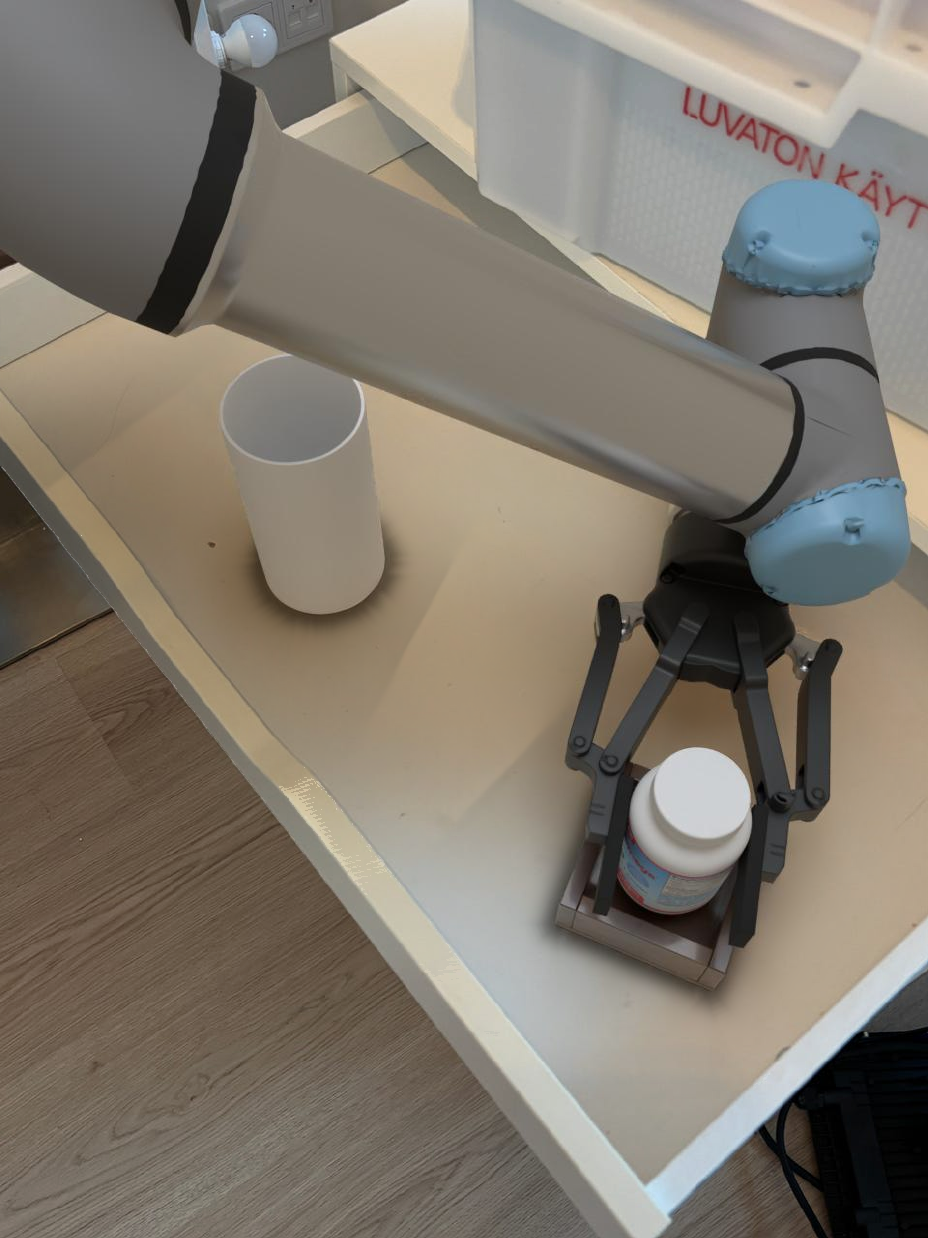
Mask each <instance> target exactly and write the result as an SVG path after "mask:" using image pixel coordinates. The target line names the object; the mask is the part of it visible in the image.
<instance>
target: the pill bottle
mask: <svg viewBox="0 0 928 1238" xmlns="http://www.w3.org/2000/svg"><path fill="white" fill-rule="evenodd" d="M751 799H752V795H751V789H750V784H749V782H748V779H747V777H746V775H745V774H744V772H743V770H742V769H741V767H739V766H738V764H737V763H735V762H734V760H732V759H731V758H729V757H728V756H727V755H725V754H723V753H722V752H719V751H717V750H715V749H712V748H708V747H698V746H697V747H696V746H695V747H687V748H683V749H679V750H678V751H675V752H673V753H672V754H670V755H669V756H668V757H666V759H664V761H663V762H661V763H659V764H658V765H656V766H654V767H652V768H651V770H650V771H649V772H648V773H647V774H646V775H645V776H644V777H643V778H642V779H641V780H640V782H639V783H638V785H637V787H636V789H635V791H634V793H633V795H632V798H631V801H630V807H629V812H628V818H627V823H626V829H625V834H624V840H623V846H622V851H621V857H620V862H619V868H618V873H617V877H618V879H619V882H620V883H621V885H622V887H623V889H624V890H625V891H626V893H627V894H628V895H629V896H630V897H631V898H632V899H633V900H634V901H635V902H636V903H638V904H639V905H641V906H642V907H644V908H646V909H648V910H650V911H653V912H656V913H661V914H682V913H687V912H690V911H693V910H696V909H698V908H700V907H702V906H703V905H705V904H706V903H707V902H708V901H709V900H710V899H712V897H713V896H714V895H715V894H716V893H717V891H718V890H719V888H720V886H721V885H722V883H723V882H724V880H725V879H726V878H727V876H728V874H729V873H730V871H731V870H732V868H733V866H734V865H735V863H736V862H737V860H738V859H739V857H740V856H741V854H742V853H743V851H744V849H745V847H746V845H747V843H748V841H749V838H750V834H751V829H752V813H751V809H752V807H751V802H752V800H751Z"/></svg>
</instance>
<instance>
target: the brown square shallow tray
mask: <svg viewBox="0 0 928 1238" xmlns="http://www.w3.org/2000/svg"><path fill="white" fill-rule="evenodd" d="M651 769H652V768H651ZM651 769H650V768H649V767H645V766H643V765H640V764H637V763H634V762H633V761H630V763H629V764H628V766H627V768H626V770H625V771H624V773H623V775H624V776H629V777H633V778H635V779H634V784H633V790H632V795H633V793H634V791H635V789H636V787H637V785H638V783H639V782H640V780H641V779H642V778H643V777H644V776H645V775H646V774H647V773H648V772H649V771H650V770H651ZM631 798H632V796H631ZM604 847H605V845H601V844H597V843H593V842H588V841H587V839H586V836H585V837H584V840H583V842H582V845H581V848H580V850H579V852H578V855H577V858H576V860H575V863H574V865H573V867H572V870H571V872H570V875H569V878H568V880H567V882H566V885H565V887H564V890H563V892H562V895H561V898H560V900H559V902H558V907H557V911H556V916H555V920H554V925H556V926H559V927H560V928H562V929H566V930H568V931H570V932H572V933H575V934H577V935H579V936H582V937H584V938H585V939H588V940H591V941H594V942H596V943H597V944H600V945H602V946H605V947H607V948H610V949H612V950H614V951H617V952H619V953H622V954H623V955H626V956H629V957H631V958H633V959H636V960H638V961H640V962H643V963H645V964H646V965H650V966H652V967H654V968H657V969H659V970H661V971H664V972H666V973H668V974H671V975H673V976H675V977H677V978H680V979H682V980H684V981H687V982H689V983H692V984H694V985H697V986H698V987H700V988H703V989H706V990H708V991H710V992H713V991H714V989H715V988H716V987H717V985H718V984H720V983H721V981H722V979H723V978H724V977H725V976H726V975H727V973H728V971H729V967H730V963H731V960H732V957H733V954H734V951H735V948H736V947H735V946H730V945H728V941H729V933H730V925H731V917H732V909H733V901H734V893H735V885H736V877H737V869H738V862H739V859H738V860H737V862H736V863H735V865H734V866H733V868H732V870H731V871H730V873H729V874H728V876H727V878H726V879H725V880H724V882H723V883H722V885H721V886H720V888H719V890H718V891H717V893H716V894H715V895H714V896H713V897H712V899H710V900H709V901H708V902H707V903H706V904H705V905H703V906H702V907H700V908H698V909H696V910H693V911H690V912H687V913H682V914H661V913H656V912H653V911H650V910H648V909H646V908H644V907H642V906H641V905H639V904H638V903H636V902H635V901H634V900H633V899H632V898H631V897H630V896H629V895H628V894H627V893H626V891H625V890H624V889H623V887H622V885H621V883H620V882H619V879H618V877H617V879H616V884H615V890H614V896H613V901H612V904H611V907H610V909H609V912H608V915H607V916H603V915H599V914H595V913H592V911H593V906H594V900H595V895H596V890H597V884H598V879H599V874H600V868H601V863H602V858H603V853H604Z"/></svg>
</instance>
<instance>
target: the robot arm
mask: <svg viewBox="0 0 928 1238" xmlns="http://www.w3.org/2000/svg"><path fill="white" fill-rule="evenodd" d="M201 2H202V0H0V250H1V251H2V252H3V253H4V254H6V255H7V256H8V257H10V258H11V259H13V260H14V261H15V262H16V263H19V264H20V265H21V266H23V267H24V268H26V269H28V270H29V271H31V272H33V274H36V275H38V276H39V277H40V278H43V279H45V280H47V282H50V283H52V284H53V285H55V286H57V287H58V288H60V289H62V290H63V291H65V292H67V293H69V294H70V295H72V296H74V297H76V298H78V299H80V300H82V301H85V302H87V303H88V304H90V305H93V306H95V307H97V308H98V309H100V310H102V311H105V312H107V313H109V314H111V315H114V316H117V317H119V318H122V319H124V320H127V321H129V322H133V323H135V324H138V325H141V326H143V327H145V328H148V329H150V330H154V331H156V332H158V333H161V334H163V335H166V336H170V337H172V338H178V337H180V336H182V335H184V334H188V333H190V332H191V331H193V330H194V331H195V330H196V329H198V328H200V327H202V326H211V325H215V326H217V327H219V328H222V329H225V330H227V331H230V332H232V333H235V334H238V335H240V336H242V337H245V338H248V339H250V340H253V341H255V342H258V343H261V344H263V345H265V346H268V347H271V348H272V349H275V350H278V351H281V352H283V353H285V354H291V355H293V356H296V357H298V358H301V359H303V360H306V361H309V362H311V363H314V364H316V365H319V366H321V367H324V368H326V369H329V370H332V371H334V372H337V373H339V374H342V375H344V376H347V377H349V378H352V379H354V380H357V381H358V382H359V383H362V384H365V385H368V386H370V387H373V388H375V389H377V390H380V391H383V392H385V393H388V394H391V395H393V396H396V397H398V398H399V399H403V400H405V401H408V402H410V403H413V404H416V405H418V406H421V407H424V408H425V409H428V410H431V411H434V412H436V413H438V414H441V415H443V416H447V417H449V418H451V419H454V420H456V421H458V422H461V423H464V424H466V425H469V426H472V427H474V428H477V429H480V430H482V431H485V432H487V433H489V434H492V435H494V436H497V437H499V438H503V439H505V440H507V441H510V442H513V443H515V444H518V445H520V446H523V447H526V448H528V449H530V450H533V451H535V452H538V453H541V454H542V455H546V456H549V457H550V458H553V459H556V460H559V461H562V462H564V463H566V464H569V465H571V466H574V467H576V468H579V469H581V470H584V471H586V472H589V473H592V474H595V475H597V476H599V477H602V478H605V479H607V480H609V481H612V482H615V483H617V484H619V485H621V486H625V487H628V488H630V489H633V490H636V491H638V492H640V493H642V494H644V495H647V496H650V497H653V498H655V499H658V500H660V501H663V502H666V503H668V504H669V508H668V512H667V519H666V528H667V529H666V530H665V533H664V535H663V539H662V540H663V541H662V546H661V551H660V556H659V560H658V561H659V562H658V567H657V573H656V578H655V583H654V587H652V590H650V592H649V593H647V595H646V596H645V597H644V599H643V601H620V600H619V598H618V597H617V596H616V595H614V594H612V593H604V594H602V595H601V596H599V598H598V599H597V604H596V609H595V616H594V620H593V629H594V636H595V637H594V638H595V648H594V650H593V654H592V658H591V661H590V665H589V668H588V671H587V675H586V678H585V682H584V685H583V688H582V691H581V695H580V698H579V702H578V705H577V708H576V711H575V715H574V717H573V718H574V719H573V721H572V725H571V728H570V731H569V734H568V738H567V744H566V749H565V754H564V764H565V766H566V767H567V769H569V770H571V771H573V772H581V773H582V774H584V775H585V776H587V777H588V778H589V779H590V781H591V783H592V794H591V799H590V803H589V808H588V812H587V819H586V824H585V827H584V828H585V829H584V835H585V837H586V839H587V841H588V842H593V843H597V844H601V845H605V847H604V853H603V858H602V863H601V868H600V874H599V879H598V884H597V890H596V895H595V900H594V906H593V911H592V913H595V914H599V915H603V916H607V915H608V912H609V909H610V907H611V904H612V901H613V896H614V890H615V884H616V879H617V873H618V868H619V862H620V857H621V851H622V846H623V840H624V834H625V829H626V823H627V818H628V812H629V807H630V801H631V796H632V790H633V784H634V779H635V778H633V777H629V776H624V775H623V773H624V771H625V770H626V768H627V766H628V764H629V763H630V762H632V759H633V758H634V756H635V754H636V752H637V751H638V749H639V747H640V745H641V744H642V743H643V741H644V738H645V737H646V735H647V733H648V732H649V729H650V728H651V727H652V725H653V723H654V722H655V720H656V718H657V716H658V714H659V713H660V711H661V710H662V707H663V705H664V704H665V702H666V700H667V699H668V697H669V696H670V695H671V693H672V692H673V690H674V688H675V687H676V685H677V683H678V682H679V681H682V682H686V683H687V682H688V683H706V684H707V683H708V684H710V685H711V686H714V687H716V688H718V689H722V690H727V691H729V692H730V694H729V695H730V698H731V703H732V706H733V709H734V710H736V714H737V719H738V724H739V729H740V733H741V737H742V742H743V743H742V744H743V747H744V751H745V757H746V761H747V766H748V770H749V775H750V780H751V784H752V789H753V794H754V799H755V803H754V804H753V805H752V807H751V813H752V829H751V834H750V838H749V841H748V843H747V845H746V847H745V849H744V851H743V853H742V854H741V856H740V857H739V862H738V869H737V877H736V885H735V893H734V901H733V909H732V917H731V925H730V933H729V941H728V945H730V946H735V948H739V949H744V948H745V947H746V946H747V945H748V944H749V942H750V941H751V940H752V938H754V936H755V935H756V929H757V928H756V927H757V919H758V909H759V900H760V895H761V885H762V884H761V883H762V882H763V883H767V884H771V885H773V884H774V883H775V882H776V880H777V879H778V878H779V876H780V875H781V874H782V872H783V870H784V868H785V864H786V853H787V846H788V835H789V827H790V823H792V822H797V821H801V822H804V823H812V822H813V821H815V820H816V819H817V818H818V817H819V815H820V814H821V813H822V811H823V810H824V809H825V807H826V805H827V804H828V803H829V802H830V800H831V764H832V763H831V759H832V758H831V755H832V754H831V753H832V752H831V751H832V748H831V746H832V745H831V744H832V677H833V674H834V672H835V669H836V667H837V666H838V663H839V661H840V659H841V656H842V655H843V651H844V648H843V645H842V644H841V642H840V641H838V640H837V639H836V638H825V639H823V640H822V642H818V641H816V640H814V639H812V638H809V637H807V636H804V635H802V634H800V633H798V632H796V625H795V623H794V621H793V618H792V616H791V613H790V605H794V606H801V607H826V606H827V607H829V606H836V605H840V604H845V603H849V602H852V601H856V600H858V599H862V598H864V597H867V596H869V595H870V594H871V593H872V592H874V591H875V590H877V589H879V588H881V587H883V586H886V585H888V584H890V583H891V582H892V581H893V580H894V579H895V578H897V576H898V575H899V574H900V573H901V572H902V571H903V569H904V568H905V566H906V564H907V562H908V560H909V558H910V555H911V554H910V553H911V550H912V538H911V532H910V522H909V516H908V507H907V501H906V497H907V494H908V489H907V486H906V483H905V481H904V480H903V479H902V475H901V470H900V466H899V463H898V462H899V461H898V458H897V454H896V449H895V446H894V441H893V436H892V432H891V427H890V424H889V419H888V415H887V411H886V407H885V403H884V398H883V393H882V389H881V385H880V377H879V372H878V366H877V364H876V363H877V362H876V358H875V354H874V348H873V343H872V339H871V335H870V329H869V323H868V320H867V316H866V311H865V308H864V293H865V288H866V286H867V284H868V282H870V281H871V280H872V279H873V276H874V275H875V274H874V273H875V270H876V265H875V262H876V258H877V255H878V251H879V247H880V243H881V227H880V223H879V221H878V218H877V216H876V214H875V213H874V211H873V209H872V208H871V207H870V206H869V204H868V203H867V202H866V201H865V200H864V199H862V198H861V197H860V196H859V195H857V194H856V193H855V192H853V191H852V190H849V189H847V188H846V187H843V186H841V185H839V184H837V183H833V182H830V181H826V180H822V179H815V178H812V179H809V180H805V179H802V178H801V179H796V178H789V179H783V180H779V181H776V182H773V183H770V184H767V185H766V186H763V187H762V188H760V189H758V190H757V191H756V192H754V193H753V194H752V195H750V196H749V197H748V198H747V200H745V201H744V203H743V204H742V205H741V207H740V209H739V211H738V213H737V216H736V219H735V221H734V224H733V228H732V231H731V233H730V236H729V239H728V241H727V244H726V245H725V248H724V249H723V250H722V254H721V262H722V265H721V270H720V274H719V279H718V282H717V287H716V292H715V295H714V301H713V304H712V309H711V313H710V318H709V321H708V327H707V331H706V336H705V337H703V336H700V335H698V334H696V333H695V332H692V331H691V330H688V329H686V328H684V327H682V326H681V325H678V324H676V323H674V322H672V321H670V320H668V319H666V318H664V317H662V316H660V315H657V314H655V313H653V312H651V311H650V310H647V309H646V308H644V307H641V306H639V305H637V304H635V303H633V302H631V301H629V300H626V299H625V298H623V297H620V296H619V295H616V294H614V293H613V292H610V291H609V290H606V289H604V288H602V287H601V286H598V285H596V284H594V283H593V282H590V281H588V280H586V279H584V278H582V277H580V276H578V275H575V274H574V273H572V272H569V271H567V270H565V269H564V268H562V267H559V266H557V265H555V264H553V263H551V262H549V261H547V260H545V259H543V258H541V257H539V256H537V255H535V254H532V253H531V252H529V251H527V250H525V249H522V248H520V247H519V246H517V245H514V244H512V243H510V242H508V241H506V240H504V239H502V238H501V237H498V236H497V235H494V234H492V233H490V232H488V231H486V230H484V229H482V228H480V227H477V226H475V225H474V224H471V223H470V222H467V221H466V220H463V219H461V218H459V217H457V216H455V215H452V214H451V213H449V212H448V211H447V212H446V211H445V210H443V209H440V208H439V207H436V206H435V205H433V204H431V203H428V202H426V201H424V200H422V199H421V198H418V197H416V196H415V195H412V194H410V193H408V192H406V191H403V190H402V189H399V188H397V187H395V186H394V185H392V184H389V183H387V182H385V181H384V180H381V179H379V178H377V177H375V176H373V175H371V174H369V173H367V172H364V171H363V170H360V169H359V168H357V167H354V166H353V165H351V164H348V163H346V162H344V161H342V160H341V159H338V158H336V157H334V156H332V155H330V154H328V153H326V152H324V151H322V150H320V149H318V148H316V147H314V146H312V145H309V144H307V143H305V142H303V141H302V140H299V139H297V138H295V137H293V136H291V135H290V134H287V133H286V132H284V131H283V130H282V129H281V127H280V126H279V125H278V123H277V122H276V120H275V117H274V114H273V112H272V110H271V108H270V105H269V102H268V100H267V97H266V95H265V92H264V90H263V89H261V88H260V87H259V86H256V85H254V84H253V83H250V82H248V81H246V80H244V79H242V78H240V77H238V76H236V75H235V74H232V73H231V72H228V71H226V70H224V69H222V68H221V67H219V66H217V65H215V64H214V63H213V62H211V61H209V60H208V59H206V58H205V57H203V56H202V55H201V54H200V53H199V52H198V51H197V50H196V49H194V48H193V46H192V45H193V41H194V36H195V31H196V27H197V22H198V16H199V12H200V9H201V8H200V7H201ZM641 625H642V626H643V628H644V630H645V632H646V633H647V636H648V637H649V638H650V640H651V643H652V644H653V646H654V647H655V649H656V652H657V654H658V658H657V660H656V662H655V664H654V665H653V668H652V670H650V672H649V674H648V675H647V678H646V680H645V681H644V683H643V684H642V686H641V687H640V689H639V691H638V693H637V695H636V696H635V698H634V699H633V701H632V703H631V705H630V706H629V707H628V710H627V711H626V713H625V714H624V717H623V718H622V720H621V721H620V723H619V724H618V727H617V728H616V729H615V731H614V732H613V735H612V737H611V738H610V740H609V742H608V743H607V744H606V746H605V748H603V747H602V746H599V745H598V744H597V743H595V742H594V740H595V736H596V732H597V729H598V726H599V723H600V719H601V715H602V711H603V708H604V704H605V701H606V697H607V694H608V691H609V687H610V684H611V680H612V677H613V673H614V670H615V666H616V663H617V658H618V653H619V650H620V645H621V644H623V643H625V642H628V641H630V640H631V639H632V637H633V633H634V630H635V628H636V627H638V626H641ZM784 655H786V656H788V657H789V658H790V659H791V661H792V673H793V675H794V677H795V679H796V680H798V681H801V682H800V685H799V688H798V692H797V701H796V733H795V734H796V736H795V739H796V740H795V774H794V776H795V779H794V780H795V781H794V788H793V789H792V787H791V783H790V778H789V775H788V770H787V765H786V762H785V757H784V751H783V748H782V745H781V744H782V743H781V739H780V735H779V730H778V727H777V722H776V718H775V717H776V716H775V714H774V709H773V705H772V701H771V695H770V692H769V675H768V671H767V669H768V668H770V667H771V666H772V665H773V664H774V663H776V662H777V661H778V660H779V659H780V658H781V657H783V656H784Z"/></svg>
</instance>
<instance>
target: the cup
mask: <svg viewBox="0 0 928 1238" xmlns="http://www.w3.org/2000/svg"><path fill="white" fill-rule="evenodd" d="M218 416H219V418H218V419H219V427H220V430H221V433H222V437H223V440H224V444H225V447H226V451H227V454H228V458H229V461H230V465H231V468H232V471H233V475H234V477H235V481H236V484H237V488H238V491H239V495H240V498H241V502H242V504H243V505H242V506H243V507H244V511H245V514H246V519H247V521H248V525H249V528H250V531H251V534H252V538H253V541H254V545H255V548H256V551H257V555H258V558H259V561H260V566H261V569H262V572H263V575H264V579H265V582H266V583H267V586H268V587H269V589H270V591H271V593H272V594H273V595H274V596H275V598H277V599H278V600H279V602H281V603H283V604H284V605H285V606H288V608H291V609H293V610H296V611H299V612H301V613H305V614H312V615H330V614H335V613H340V612H343V611H346V610H348V609H351V608H353V607H355V606H356V605H358V604H360V603H362V602H363V601H364V600H366V599H367V598H368V596H370V594H372V593H373V592H374V590H375V589H376V587H377V586H378V585H379V583H380V580H381V579H382V576H383V574H384V569H385V561H386V558H385V548H384V541H383V533H382V532H383V531H382V523H381V515H380V508H379V507H380V506H379V501H378V500H379V499H378V493H377V492H378V491H377V484H376V483H377V481H376V475H375V467H374V459H373V450H372V443H371V435H370V426H369V420H368V419H369V418H368V411H367V403H366V398H365V395H364V391H363V388H362V387H361V384H360V381H357V380H354V379H352V378H349V377H347V376H344V375H342V374H339V373H337V372H334V371H332V370H329V369H326V368H324V367H321V366H319V365H316V364H314V363H311V362H309V361H306V360H303V359H301V358H298V357H296V356H293V355H291V354H288V353H282V354H277V355H276V354H275V355H273V356H269V357H266V358H264V359H261V360H258V361H256V362H255V363H253V364H251V365H249V366H248V367H246V368H245V369H243V370H242V371H241V372H240V373H238V374H237V376H235V377H234V378H233V379H232V380H231V381H230V383H229V385H228V386H227V388H226V389H225V390H224V393H223V394H222V396H221V400H220V404H219V411H218Z"/></svg>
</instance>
